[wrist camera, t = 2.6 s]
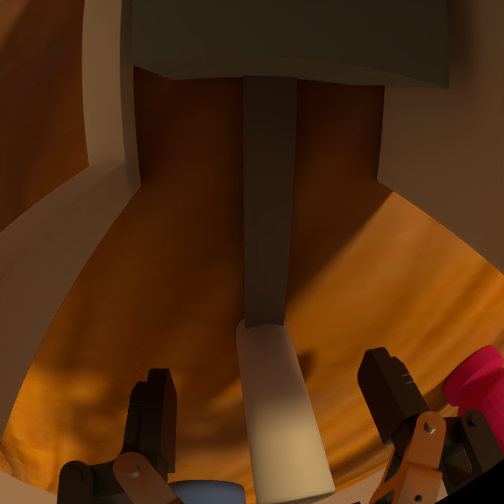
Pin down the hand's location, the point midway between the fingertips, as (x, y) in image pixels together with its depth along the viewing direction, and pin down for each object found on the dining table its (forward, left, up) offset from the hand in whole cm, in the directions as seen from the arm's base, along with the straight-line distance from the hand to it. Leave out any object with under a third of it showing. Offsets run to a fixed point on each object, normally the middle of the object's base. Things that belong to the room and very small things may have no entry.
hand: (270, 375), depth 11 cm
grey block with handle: (-8, 0, -3) cm, 8 cm away
